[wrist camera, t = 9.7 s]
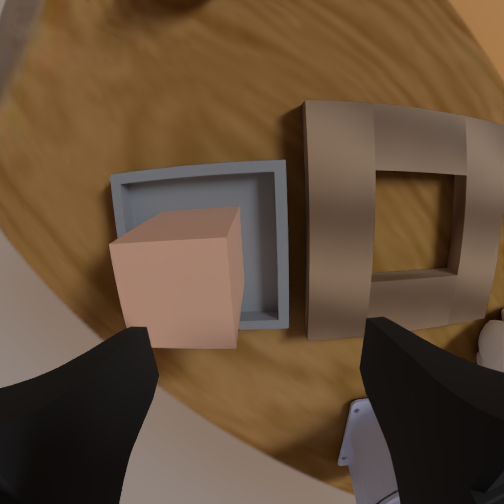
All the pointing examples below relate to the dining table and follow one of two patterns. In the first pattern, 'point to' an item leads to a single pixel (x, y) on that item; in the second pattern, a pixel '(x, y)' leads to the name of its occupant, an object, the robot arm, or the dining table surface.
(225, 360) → the dining table surface
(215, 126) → the dining table surface
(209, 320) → the block
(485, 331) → the water bottle
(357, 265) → the board
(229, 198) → the tray
